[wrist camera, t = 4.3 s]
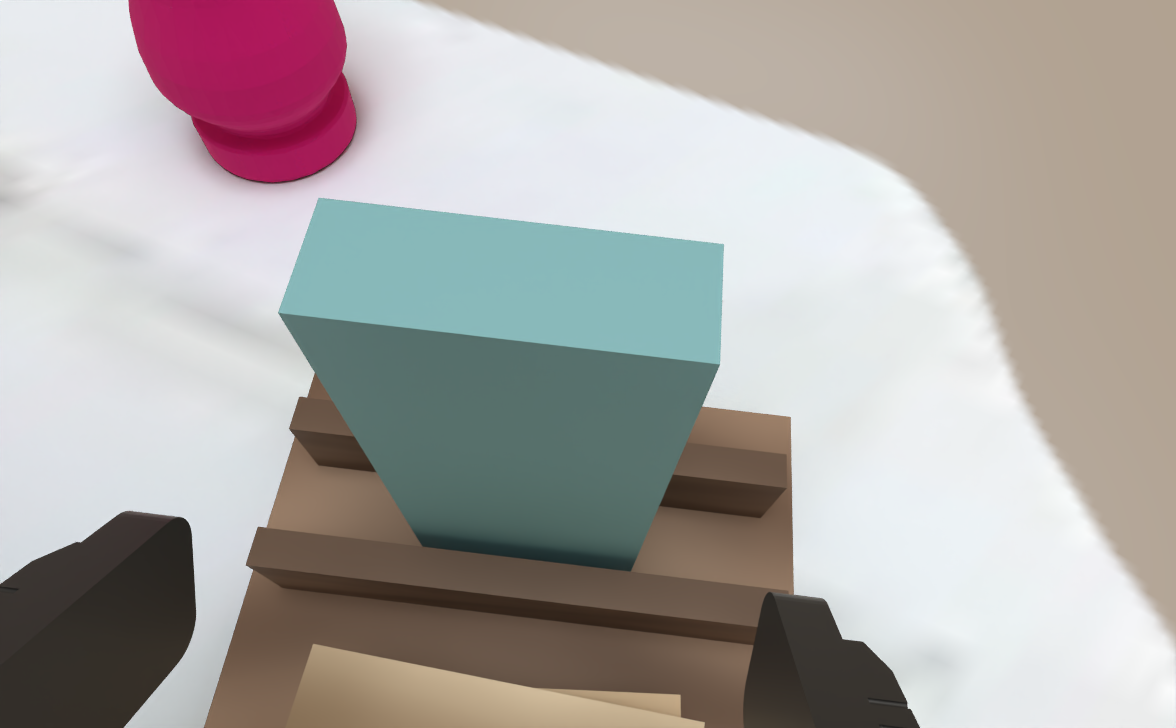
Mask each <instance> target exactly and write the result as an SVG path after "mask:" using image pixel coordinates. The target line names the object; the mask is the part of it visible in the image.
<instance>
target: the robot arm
mask: <svg viewBox="0 0 1176 728" xmlns="http://www.w3.org/2000/svg"><path fill="white" fill-rule="evenodd" d="M195 620H196V602H195V584H194V566H193V548H192V533H191V528H190V525H189V523H188V522H187V520H186V519H184V518H181V517H174V516H166V515H158V514H150V513H142V512H134V511H125V512H122V513H120V514H119V515H117V516H116V517H114V518H113V519H112V520H110V521H109V522H108V523H106V524H105V525H104V526H102V527H101V528H100V529H98V530H97V531H96V532H94V533H93V534H92V535H90V536H89V537H88V538H86V539H85V540H84V541H83V542H81V543H80V542H75V543H73V544H71V545H68V546H66V547H64V548H62V549H59V550H57V551H55V552H52V553H50V554H48V555H45V556H43V557H41V558H38V559H36V560H34V561H32V562H30V563H29V564H28V565H26V566H25V567H23V568H22V569H21V570H19V571H18V572H16V573H15V574H14V575H12V576H11V577H10V578H8V579H7V580H5V581H4V582H3V583H1V584H0V728H124V726H125V725H126V724H127V723H128V722H129V721H130V719H131V718H132V717H133V716H134V715H135V713H136V712H137V711H138V710H139V709H140V707H141V706H142V705H143V704H144V703H145V702H146V700H147V699H148V698H149V697H150V696H151V694H152V693H153V692H154V691H155V690H156V689H157V687H158V686H159V685H160V684H161V683H162V681H163V680H164V679H165V678H166V677H167V676H168V674H169V673H170V672H171V671H172V670H173V668H174V667H175V666H176V665H177V664H178V662H179V661H180V660H181V658H182V657H183V655H184V654H185V652H186V650H187V648H188V645H189V643H190V641H191V638H192V635H193V631H194V627H195ZM743 723H744V728H920V727H919V725H918V723H917V721H916V719H915V717H914V715H913V713H912V711H911V709H908V707H907V700H906V698H905V696H904V694H903V692H902V690H901V688H900V686H899V684H898V682H897V680H896V678H895V676H894V674H893V672H892V670H891V669H890V668H889V667H888V666H887V665H886V664H885V663H884V662H883V661H882V660H881V659H880V658H879V657H878V656H877V655H876V654H875V653H874V652H873V651H872V650H871V649H870V648H869V647H868V646H867V645H866V644H865V643H864V642H860V641H852V640H844V639H842V637H841V634H840V632H839V630H838V627H837V625H836V623H835V620H834V618H833V616H832V613H831V611H830V609H829V606H828V604H827V602H826V601H825V600H824V599H823V598H815V597H807V596H799V595H791V594H783V593H775V592H768V593H767V594H766V595H765V598H764V600H763V603H762V607H761V612H760V617H759V621H758V626H757V631H756V636H755V641H754V645H753V650H752V655H751V660H750V664H749V669H748V674H747V679H746V684H745V691H744V702H743Z"/></svg>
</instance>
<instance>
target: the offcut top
mask: <svg viewBox="0 0 1176 728" xmlns="http://www.w3.org/2000/svg"><path fill="white" fill-rule="evenodd" d="M704 726H705V722H700V721H695V720H690V719H685V718H680V717H675V716H670V715H665V714H660V713H655V712H650V711H646V710H641V709H636V708H631V707H626V706H621V705H616V704H611V703H606V702H601V701H596V700H591V699H586V698H581V697H576V696H571V695H566V694H561V693H556V692H551V691H546V690H541V689H536V688H531V687H526V686H521V685H516V684H511V683H506V682H501V681H496V680H491V679H486V678H481V677H476V676H471V675H466V674H461V673H456V672H451V671H446V670H441V669H436V668H431V667H426V666H421V665H416V664H411V663H406V662H401V661H396V660H391V659H386V658H381V657H376V656H371V655H366V654H361V653H356V652H351V651H346V650H341V649H336V648H331V647H327V646H322V645H317V644H313V646H312V649H311V652H310V655H309V658H308V661H307V664H306V667H305V670H304V673H303V676H302V679H301V682H300V685H299V688H298V691H297V694H296V697H295V700H294V703H293V706H292V709H291V712H290V715H289V718H288V721H287V724H286V727H285V728H704Z"/></svg>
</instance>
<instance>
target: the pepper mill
mask: <svg viewBox="0 0 1176 728" xmlns="http://www.w3.org/2000/svg"><path fill="white" fill-rule="evenodd" d="M129 12H130V18H131V23H132V27H133V31H134V35H135V39H136V43H137V47H138V51H139V53H140V55H141V57H142V60H143V62H144V64H145V66H146V68H147V70H148V72H149V74H150V77H151V78H152V80H153V82H154V84H155V86H156V87H157V88H158V89H159V91H160V92H161V93H162V94H163V95H164V96H165V97H166V98H167V99H168V100H169V101H171V102H172V103H173V104H174V105H175V106H176V107H178V108H179V109H181V110H182V111H184V112H186V113H187V114H189V115H190V116H191V118H192V121H193V124H194V126H195V128H196V129H197V131H198V133H199V135H200V137H201V138H202V140H203V142H204V144H205V146H206V147H207V149H208V151H209V153H210V154H211V156H212V157H213V158H214V160H215V161H216V162H217V163H218V164H220V165H221V166H222V167H223V168H224V169H226V170H228V171H229V172H231V173H233V174H235V175H237V176H240V177H243V178H245V179H248V180H256V181H264V182H280V181H289V180H295V179H298V178H301V177H304V176H308V175H311V174H314V173H315V172H317V171H319V170H320V169H322V168H324V167H325V166H327V165H329V164H330V163H332V162H333V161H334V160H335V159H336V158H337V157H338V156H340V155H341V154H342V152H343V151H344V150H345V148H346V147H347V146H348V144H349V143H350V141H351V140H352V137H353V134H354V131H355V128H356V111H355V107H354V104H353V101H352V97H351V94H350V91H349V87H348V84H347V81H346V78H345V76H344V74H343V73H342V69H343V65H344V62H345V56H346V49H347V43H346V36H345V30H344V26H343V24H342V21H341V18H340V16H339V13H338V10H337V8H336V5H335V3H334V0H129Z"/></svg>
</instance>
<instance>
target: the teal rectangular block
mask: <svg viewBox="0 0 1176 728" xmlns="http://www.w3.org/2000/svg"><path fill="white" fill-rule="evenodd" d="M723 252H724V244H717V243H708V242H700V241H691V240H682V239H673V238H665V237H656V236H647V235H639V234H630V233H621V232H612V231H604V230H595V229H586V228H578V227H569V226H560V225H551V224H543V223H534V222H525V221H517V220H508V219H499V218H490V217H482V216H473V215H464V214H456V213H447V212H438V211H429V210H421V209H412V208H403V207H395V206H386V205H377V204H368V203H360V202H351V201H342V200H334V199H325V198H319V199H318V201H317V204H316V207H315V210H314V213H313V216H312V218H311V221H310V224H309V227H308V230H307V233H306V235H305V238H304V241H303V244H302V247H301V250H300V252H299V255H298V258H297V261H296V264H295V267H294V269H293V272H292V275H291V278H290V281H289V284H288V286H287V289H286V292H285V295H284V298H283V301H282V303H281V306H280V309H279V312H278V313H279V315H280V317H281V318H282V320H283V321H284V323H285V325H286V326H287V328H288V330H289V331H290V333H291V334H292V336H293V338H294V339H295V341H296V342H297V344H298V346H299V347H300V349H301V351H302V352H303V354H304V355H305V357H306V359H307V360H308V362H309V364H310V365H311V367H312V368H313V370H314V372H315V373H316V375H317V377H318V378H319V380H320V381H321V383H322V385H323V386H324V388H325V389H326V391H327V393H328V394H329V396H330V398H331V399H332V401H333V402H334V404H335V406H336V407H337V409H338V411H339V412H340V414H341V415H342V417H343V419H344V420H345V422H346V423H347V425H348V427H349V428H350V430H351V432H352V433H353V435H354V436H355V438H356V440H357V441H358V443H359V445H360V446H361V448H362V449H363V451H364V453H365V454H366V456H367V457H368V459H369V461H370V462H371V464H372V466H373V467H374V469H375V470H376V472H377V474H378V475H379V477H380V479H381V480H382V482H383V483H384V485H385V487H386V488H387V490H388V491H389V493H390V495H391V496H392V498H393V500H394V501H395V503H396V504H397V506H398V508H399V509H400V511H401V513H402V514H403V516H404V517H405V519H406V521H407V522H408V524H409V525H410V527H411V529H412V530H413V532H414V534H415V535H416V537H417V538H418V540H419V542H420V543H421V545H422V547H430V548H438V549H446V550H455V551H463V552H471V553H480V554H488V555H496V556H504V557H513V558H521V559H529V560H538V561H546V562H554V563H563V564H571V565H579V566H587V567H596V568H604V569H612V570H621V571H629V572H631V570H632V568H633V565H634V563H635V561H636V558H637V556H638V554H639V551H640V549H641V547H642V545H643V542H644V540H645V538H646V535H647V533H648V531H649V528H650V526H651V524H652V521H653V519H654V517H655V514H656V512H657V510H658V507H659V505H660V503H661V500H662V498H663V496H664V493H665V491H666V489H667V486H668V484H669V482H670V479H671V477H672V475H673V472H674V470H675V468H676V465H677V463H678V461H679V459H680V456H681V454H682V452H683V449H684V447H685V445H686V442H687V440H688V438H689V435H690V433H691V431H692V428H693V426H694V424H695V421H696V419H697V417H698V414H699V412H700V410H701V407H702V405H703V403H704V400H705V398H706V396H707V393H708V391H709V389H710V386H711V384H712V382H713V379H714V377H715V375H716V373H717V370H718V368H719V366H720V348H721V316H722V284H723Z"/></svg>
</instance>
